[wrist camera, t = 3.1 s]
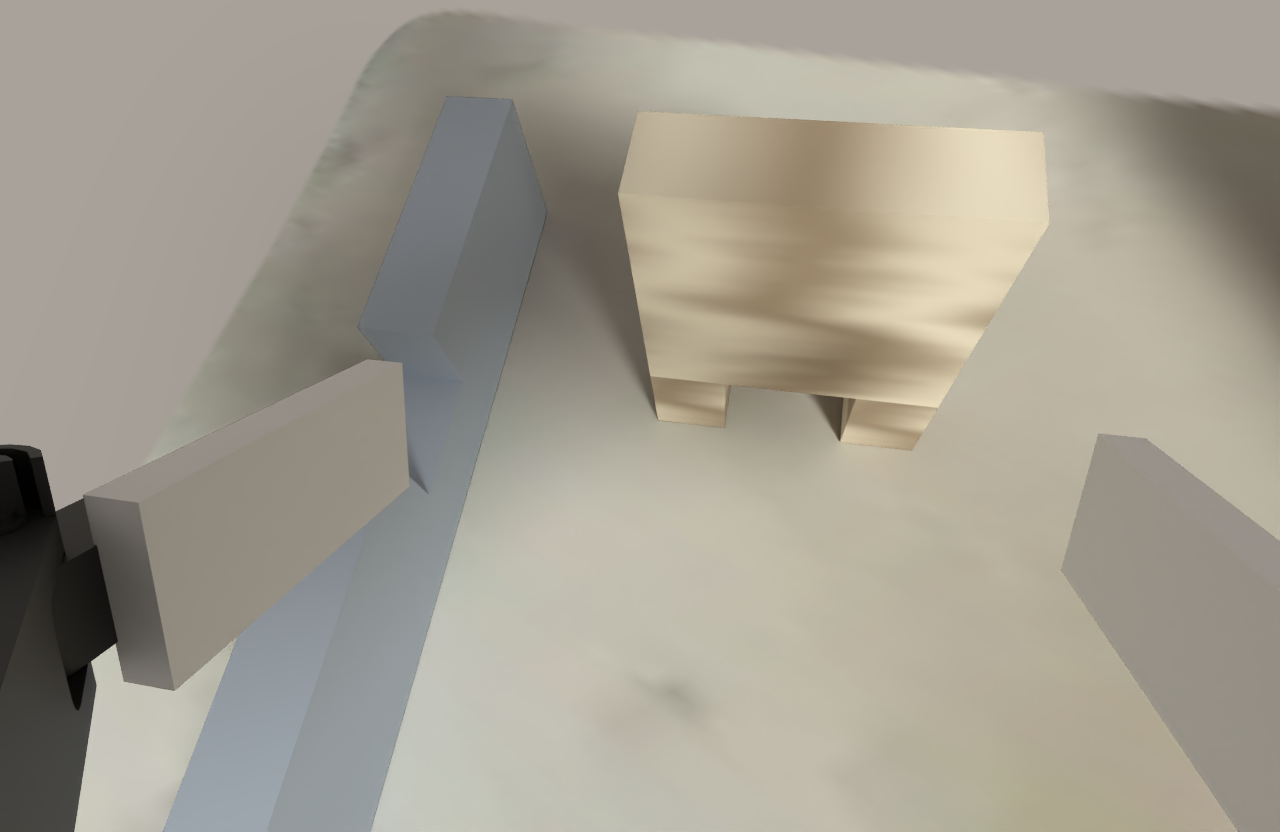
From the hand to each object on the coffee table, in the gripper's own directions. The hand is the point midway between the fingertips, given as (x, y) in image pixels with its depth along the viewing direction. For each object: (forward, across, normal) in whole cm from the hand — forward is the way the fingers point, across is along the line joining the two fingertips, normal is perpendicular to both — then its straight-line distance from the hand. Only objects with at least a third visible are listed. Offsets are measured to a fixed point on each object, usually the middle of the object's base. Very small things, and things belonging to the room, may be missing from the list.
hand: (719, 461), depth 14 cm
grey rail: (+10, -11, -6) cm, 16 cm away
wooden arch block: (+13, +2, -3) cm, 14 cm away
